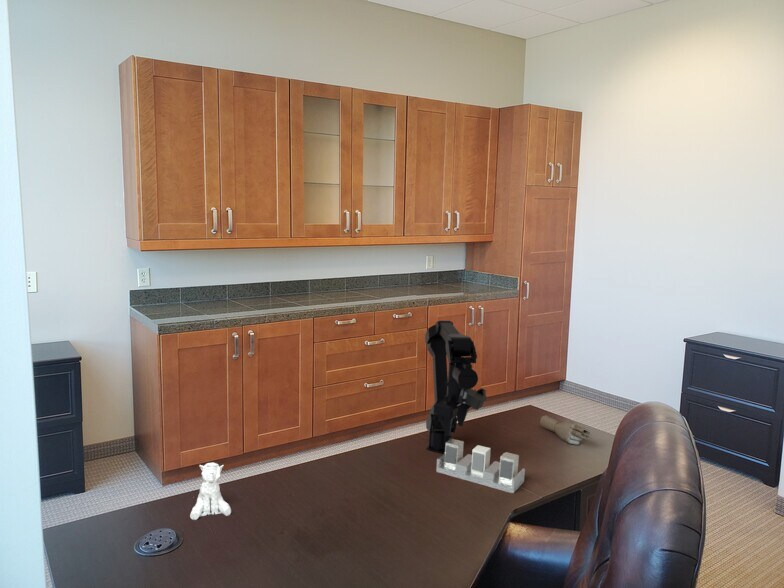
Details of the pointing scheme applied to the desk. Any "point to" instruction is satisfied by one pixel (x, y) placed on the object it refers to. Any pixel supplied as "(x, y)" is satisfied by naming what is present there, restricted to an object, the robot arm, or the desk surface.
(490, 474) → the white slotted block stand
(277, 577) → the desk surface
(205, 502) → the seated beast figurine
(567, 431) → the mannequin hand
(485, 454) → the white rectangular block
